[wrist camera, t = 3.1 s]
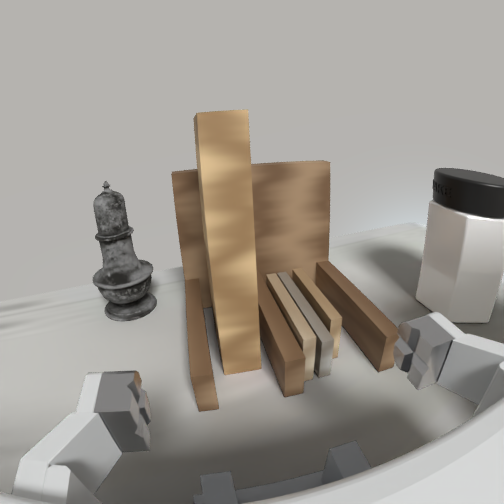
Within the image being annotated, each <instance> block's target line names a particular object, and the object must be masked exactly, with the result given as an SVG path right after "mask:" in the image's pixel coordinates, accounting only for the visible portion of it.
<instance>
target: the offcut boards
mask: <svg viewBox="0 0 504 504" xmlns="http://www.w3.org/2000/svg"><path fill="white" fill-rule="evenodd" d="M266 285H267V287H268V289H269V291H270V293H271V294H272V296H273V298H274V300H275V302H276V304H277V306H278V307H279V309H280V311H281V313H282V315H283V317H284V318H285V320H286V322H287V324H288V326H289V328H290V330H291V331H292V333H293V335H294V337H295V339H296V341H297V343H298V344H299V346H300V348H301V350H302V352H303V354H304V355H305V357H306V360H305V375H304V381H307V380H311V379H313V373H314V370H315V372H316V374H317V376H318V377H319V378H320V377H324V376H328V375H330V371H331V363H332V358H336V357H338V349H339V341H340V333H341V325H342V317H341V315H340V314H339V313H338V312H337V310H336V309H335V308H334V307H333V306H332V304H331V303H330V302H329V301H328V299H327V298H326V297H325V296H324V295H323V293H322V292H321V291H320V290H319V288H318V287H317V286H316V285H315V284H314V282H313V281H312V280H311V279H310V278H309V276H308V275H307V274H306V273H305V272H304V270H303V269H302V268H297V269H292V279H291V278H290V276H289V275H288V274H287V272H280V273H277V274H276V273H273V274H266Z"/></svg>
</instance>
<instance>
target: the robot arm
mask: <svg viewBox="0 0 504 504" xmlns="http://www.w3.org/2000/svg"><path fill="white" fill-rule="evenodd" d="M397 334H398V336H399V339H398V340H397V341H396V343H395V345H394V350H393V355H394V360H395V363H396V365H397V366H398V367H399V369H400V370H402V371H405V372H407V378H408V379H409V381H410V382H411V383H412V384H413V385H414V387H415V388H416V389H417V390H420V389H422V388H425V387H427V386H430V385H432V384H435V383H437V384H438V385H440V386H442V387H444V388H446V389H448V390H450V391H452V392H454V393H456V394H458V395H460V396H462V397H464V398H466V399H468V400H470V401H472V402H474V403H476V404H478V407H477V409H476V410H475V412H474V415H473V418H471V419H470V420H468V421H467V422H465V423H463V424H462V425H460V426H458V427H456V428H455V429H453V430H451V431H449V432H448V433H446V434H444V435H442V436H440V437H438V438H437V439H435V440H433V441H431V442H429V443H427V444H425V445H423V446H421V447H419V448H417V449H415V450H413V451H411V452H409V453H406V454H404V455H402V456H400V457H398V458H395V459H393V460H391V461H388V462H386V463H384V464H381V465H379V466H376V467H374V468H371V469H369V470H366V471H363V472H361V473H358V474H355V475H352V476H349V477H346V478H344V479H341V480H337V481H334V482H331V483H328V484H325V485H321V486H318V487H315V488H311V489H307V490H304V491H300V492H296V493H292V494H288V495H284V496H279V497H275V498H270V499H265V500H260V501H255V502H249V503H243V504H504V344H503V343H499V342H496V341H492V340H489V339H486V338H482V337H479V336H475V335H472V334H465V333H463V332H462V331H461V330H460V329H459V328H457V327H456V326H455V325H454V324H453V323H451V322H450V321H449V320H448V319H447V318H445V317H444V316H443V315H442V314H441V313H439V312H433V313H430V314H427V315H424V316H422V317H418V318H415V319H412V320H409V321H405V322H402V323H401V324H400V326H399V328H398V332H397ZM141 381H142V380H141V378H140V375H139V373H138V372H137V371H115V372H89V373H88V374H87V375H86V376H85V380H84V383H83V387H82V390H81V394H80V397H79V401H78V405H77V409H76V413H70V414H69V415H68V416H67V417H66V418H65V419H64V420H62V421H61V422H60V423H59V424H58V425H57V426H56V427H55V428H54V429H53V430H51V431H50V432H49V433H48V434H47V435H46V436H45V437H44V438H43V439H42V440H41V441H39V442H38V443H37V444H36V445H35V446H34V447H33V448H32V449H31V450H30V451H28V452H27V453H26V454H25V455H24V456H23V457H22V458H21V459H20V463H19V466H18V470H17V474H16V478H15V482H14V486H13V490H12V494H7V493H4V492H0V504H102V503H101V502H100V501H99V500H98V499H97V498H96V497H95V496H94V494H95V492H96V491H97V489H98V488H99V487H100V485H101V484H102V482H103V481H104V479H105V478H106V476H107V475H108V474H109V472H110V471H111V469H112V468H113V466H114V465H115V464H116V462H117V461H118V459H119V458H120V456H121V455H122V453H121V452H139V451H150V431H149V429H148V427H147V425H148V423H149V422H150V418H151V413H150V405H149V400H148V397H147V394H146V391H144V390H143V389H142V388H141Z"/></svg>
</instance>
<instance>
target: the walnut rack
mask: <svg viewBox="0 0 504 504" xmlns="http://www.w3.org/2000/svg"><path fill="white" fill-rule="evenodd" d="M251 175H252V193H253V212H254V232H255V251H256V270H257V290H258V310H259V330H260V337H261V339H262V342H263V345H264V347H265V350H266V352H267V355H268V357H269V360H270V362H271V365H272V367H273V370H274V372H275V375H276V377H277V380H278V382H279V385H280V387H281V390H282V392H283V395H284V397H288V396H292V395H297V394H301V393H303V389H304V375H305V360H306V357H305V355H304V354H303V352H302V350H301V348H300V346H299V344H298V343H297V341H296V339H295V337H294V335H293V333H292V331H291V330H290V328H289V326H288V324H287V322H286V320H285V318H284V317H283V315H282V313H281V311H280V309H279V307H278V306H277V304H276V302H275V300H274V298H273V296H272V294H271V293H270V291H269V289H268V287H267V285H266V274H273V273H276V274H277V273H280V272H287V274H288V275H289V276H290V278H291V279H292V269H297V268H302V269H303V270H304V272H305V273H306V274H307V275H308V276H309V278H310V279H311V280H312V281H313V282H314V284H315V285H316V286H317V287H318V288H319V290H320V291H321V292H322V293H323V295H324V296H325V297H326V298H327V299H328V301H329V302H330V303H331V304H332V306H333V307H334V308H335V309H336V310H337V312H338V313H339V314H340V315H341V317H342V326H343V327H344V328H345V329H346V331H347V332H348V333H349V335H350V336H351V337H352V338H353V340H354V341H355V342H356V344H357V345H358V346H359V347H360V349H361V350H362V351H363V353H364V354H365V355H366V356H367V358H368V359H369V360H370V362H371V363H372V364H373V366H374V367H375V368H376V369H377V371H378V372H380V371H383V370H386V369H389V368H392V367H393V365H394V361H395V360H394V355H393V350H394V345H395V343H396V341H397V340H398V339H399V336H398V334H397V332H398V328H397V327H396V326H395V325H394V324H393V323H392V322H391V321H390V320H389V319H388V318H387V317H386V316H385V315H384V314H383V313H382V312H381V311H380V310H379V309H378V308H377V307H376V306H375V305H374V304H373V303H372V302H371V301H370V300H369V299H368V298H367V297H366V296H365V295H364V294H363V293H362V292H361V291H360V290H359V289H358V288H356V287H355V286H354V285H353V284H352V283H351V282H350V281H349V280H348V279H347V278H346V277H345V276H344V275H343V274H342V273H341V272H340V271H339V270H338V269H337V268H336V267H335V266H334V265H332V264H331V263H330V262H329V261H328V256H329V223H330V162H327V161H296V162H276V163H261V164H251ZM172 184H173V193H174V202H175V210H176V219H177V226H178V234H179V242H180V249H181V256H182V263H183V270H184V277H185V293H186V315H187V333H188V349H189V363H190V376H191V381H192V385H193V389H194V393H195V397H196V401H197V405H198V409H199V412H200V411H208V410H215V409H219V405H218V400H217V394H216V388H215V382H214V377H213V371H212V364H211V358H210V352H209V345H208V339H207V332H206V325H205V318H204V311H203V308H208V307H212V301H211V293H210V285H209V277H208V268H207V260H206V251H205V242H204V233H203V223H202V213H201V203H200V192H199V181H198V170H197V169H193V170H184V171H175V172H172Z"/></svg>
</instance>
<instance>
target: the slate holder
mask: <svg viewBox="0 0 504 504" xmlns="http://www.w3.org/2000/svg"><path fill="white" fill-rule="evenodd" d="M369 469H371V466H370V465H369V463H368V461H367V459H366V457H365V456H364V454H363V452H362V450H361V448H360V447H359V445H358V443H357V441H356V440H355V441H352V442H349V443H346V444H343V445H340V446H337V447H334V448H330V449H329V452H328V456H327V460H326V464H325V468H324V470H322V471H319V472H315V473H312V474H308V475H304V476H301V477H297V478H293V479H289V480H284V481H280V482H276V483H271V484H266V485H261V486H256V487H250V488H245V489H238V490H235V487H234V483H233V479H232V474H231V471H228V472H220V473H213V474H204V475H200V479H201V486H202V493H203V494H200V495H193V498H194V504H243V503H249V502H255V501H260V500H265V499H270V498H275V497H279V496H284V495H288V494H292V493H296V492H300V491H304V490H307V489H311V488H315V487H318V486H321V485H325V484H328V483H331V482H334V481H337V480H341V479H344V478H346V477H349V476H352V475H355V474H358V473H361V472H363V471H366V470H369Z"/></svg>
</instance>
